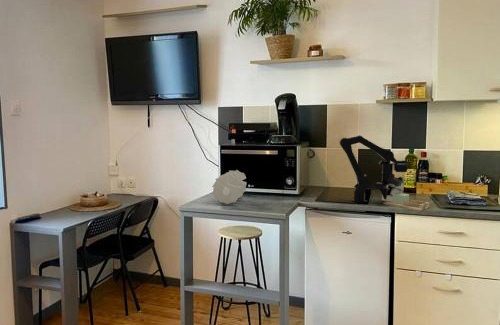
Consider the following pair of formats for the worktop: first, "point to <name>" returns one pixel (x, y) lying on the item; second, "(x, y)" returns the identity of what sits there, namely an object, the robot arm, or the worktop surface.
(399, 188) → the ink box
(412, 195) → the worktop surface
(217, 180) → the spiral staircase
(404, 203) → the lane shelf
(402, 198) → the sage block
